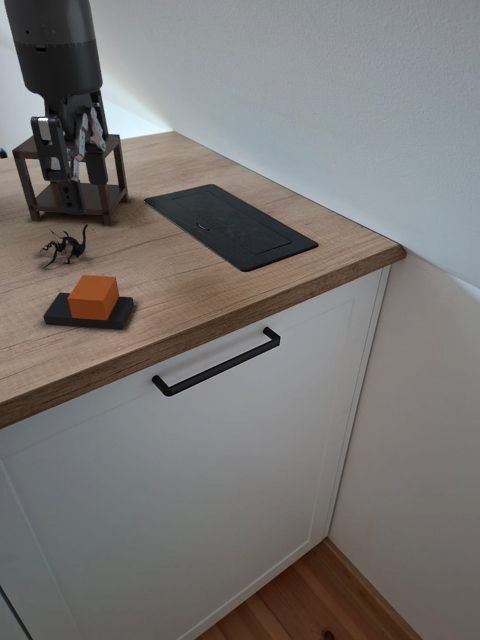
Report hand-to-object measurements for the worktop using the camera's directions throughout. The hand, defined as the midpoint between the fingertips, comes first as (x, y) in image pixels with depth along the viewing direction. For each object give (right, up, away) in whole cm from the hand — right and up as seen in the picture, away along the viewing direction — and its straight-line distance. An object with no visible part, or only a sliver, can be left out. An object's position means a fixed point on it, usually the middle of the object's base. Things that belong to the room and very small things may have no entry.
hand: (88, 197), depth 57 cm
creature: (-10, -4, +18) cm, 22 cm away
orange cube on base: (-2, -13, +7) cm, 15 cm away
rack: (-12, +7, +31) cm, 35 cm away
